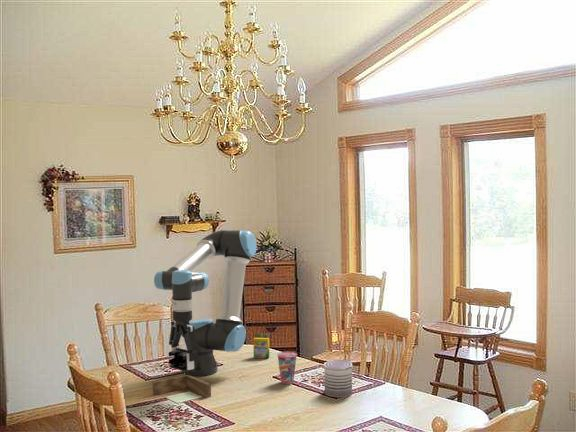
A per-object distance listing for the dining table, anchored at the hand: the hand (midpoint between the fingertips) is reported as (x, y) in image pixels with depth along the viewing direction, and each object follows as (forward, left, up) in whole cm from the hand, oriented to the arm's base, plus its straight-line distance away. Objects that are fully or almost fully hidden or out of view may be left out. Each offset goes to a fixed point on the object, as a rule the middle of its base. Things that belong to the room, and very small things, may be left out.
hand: (183, 366), depth 251 cm
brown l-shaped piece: (-1, -3, -12) cm, 13 cm away
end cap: (0, 0, -1) cm, 1 cm away
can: (-50, +35, -13) cm, 62 cm away
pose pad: (0, 0, -12) cm, 12 cm away
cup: (-44, +11, -13) cm, 47 cm away
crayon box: (-60, -29, -13) cm, 67 cm away
